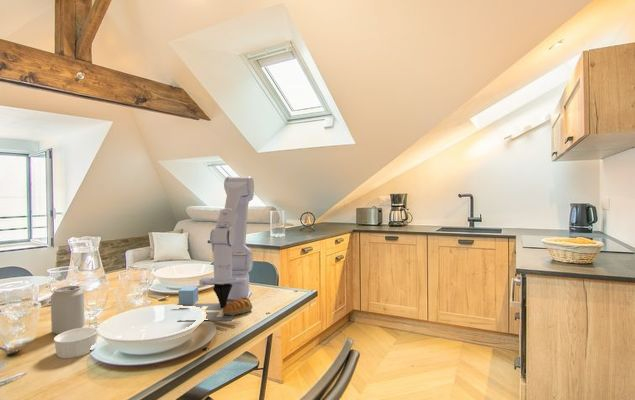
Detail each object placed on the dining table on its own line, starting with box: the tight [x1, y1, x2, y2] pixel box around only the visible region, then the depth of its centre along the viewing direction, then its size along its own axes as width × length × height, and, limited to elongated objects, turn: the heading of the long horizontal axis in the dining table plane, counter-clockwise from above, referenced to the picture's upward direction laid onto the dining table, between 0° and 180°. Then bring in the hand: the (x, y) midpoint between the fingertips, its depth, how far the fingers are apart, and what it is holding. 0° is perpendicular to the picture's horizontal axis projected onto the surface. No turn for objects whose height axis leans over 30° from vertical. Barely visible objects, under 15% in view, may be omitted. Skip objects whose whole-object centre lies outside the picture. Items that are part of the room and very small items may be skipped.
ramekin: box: [53, 326, 99, 359], centre depth 86 cm, size 9×9×4 cm
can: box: [50, 285, 85, 336], centre depth 99 cm, size 8×8×12 cm
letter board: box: [192, 302, 236, 322], centre depth 113 cm, size 16×16×1 cm
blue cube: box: [178, 286, 199, 306], centre depth 123 cm, size 5×5×5 cm
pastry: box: [223, 297, 253, 316], centre depth 112 cm, size 9×7×4 cm
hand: (223, 307), depth 113 cm, fingers closed
